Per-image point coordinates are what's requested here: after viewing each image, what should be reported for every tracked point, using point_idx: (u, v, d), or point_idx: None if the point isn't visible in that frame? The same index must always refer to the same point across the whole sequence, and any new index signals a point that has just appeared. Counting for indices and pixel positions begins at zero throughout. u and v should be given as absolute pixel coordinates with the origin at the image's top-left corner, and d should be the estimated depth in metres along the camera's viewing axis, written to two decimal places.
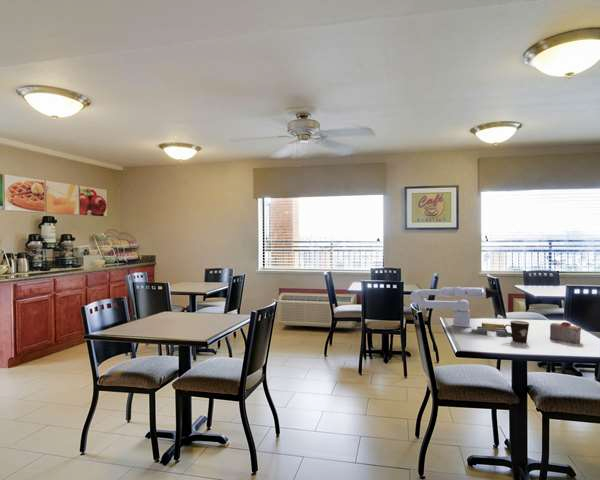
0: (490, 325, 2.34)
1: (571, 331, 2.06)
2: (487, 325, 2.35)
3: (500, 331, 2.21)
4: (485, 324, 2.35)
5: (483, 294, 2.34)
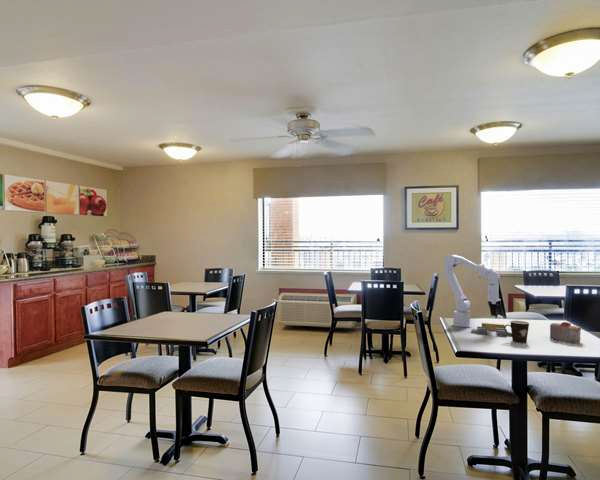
0: (490, 325, 2.34)
1: (571, 331, 2.06)
2: (487, 325, 2.35)
3: (500, 331, 2.21)
4: (485, 324, 2.35)
5: (493, 301, 2.28)
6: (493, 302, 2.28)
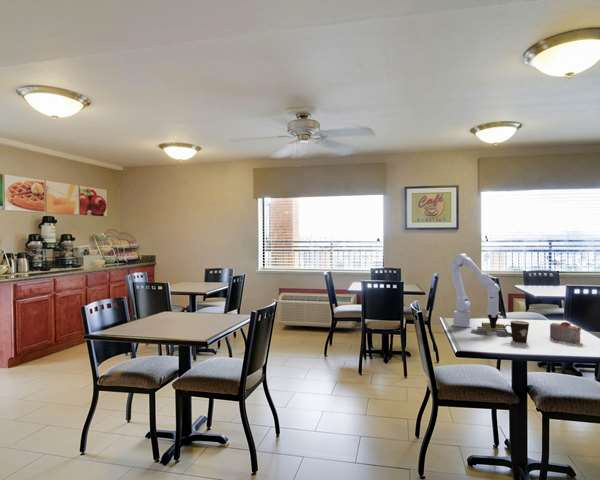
0: None
1: (571, 331, 2.06)
2: (487, 325, 2.35)
3: (500, 331, 2.21)
4: (485, 324, 2.35)
5: (493, 315, 2.28)
6: (493, 315, 2.28)
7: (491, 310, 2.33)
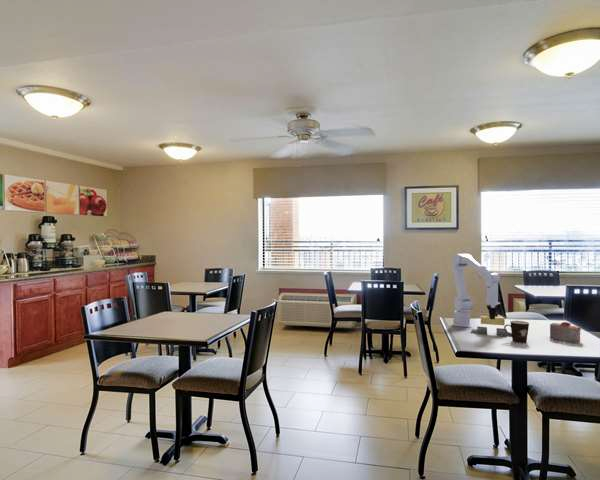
0: (489, 319, 2.25)
1: (571, 331, 2.06)
2: (486, 319, 2.25)
3: (500, 331, 2.21)
4: (484, 318, 2.26)
5: (492, 305, 2.19)
6: (492, 306, 2.19)
7: (490, 300, 2.23)
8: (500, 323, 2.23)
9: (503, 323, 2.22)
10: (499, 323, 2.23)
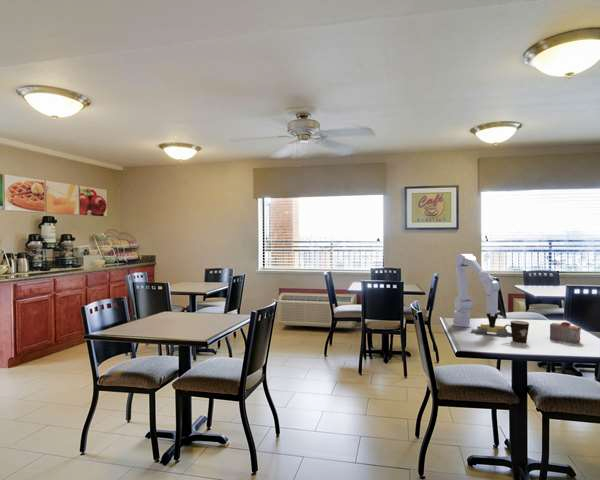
0: (489, 327, 2.24)
1: (571, 331, 2.06)
2: (486, 326, 2.25)
3: (500, 331, 2.21)
4: (484, 325, 2.25)
5: (492, 313, 2.18)
6: (492, 314, 2.18)
7: (490, 309, 2.23)
8: None
9: None
10: None
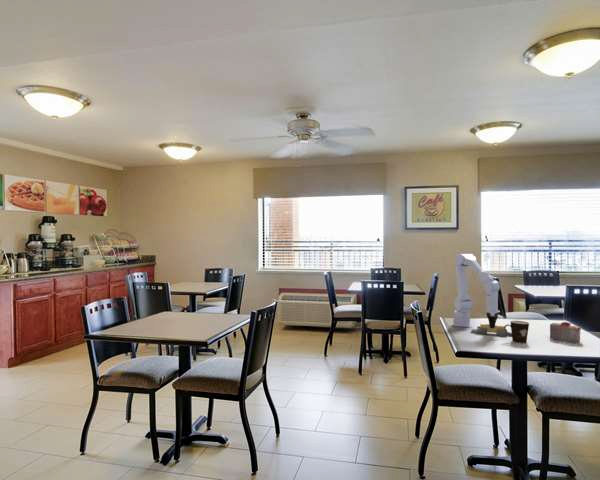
0: (489, 327, 2.24)
1: (571, 331, 2.06)
2: (486, 326, 2.25)
3: (500, 331, 2.21)
4: (484, 325, 2.25)
5: (492, 313, 2.18)
6: (492, 314, 2.18)
7: (490, 308, 2.23)
8: None
9: None
10: None
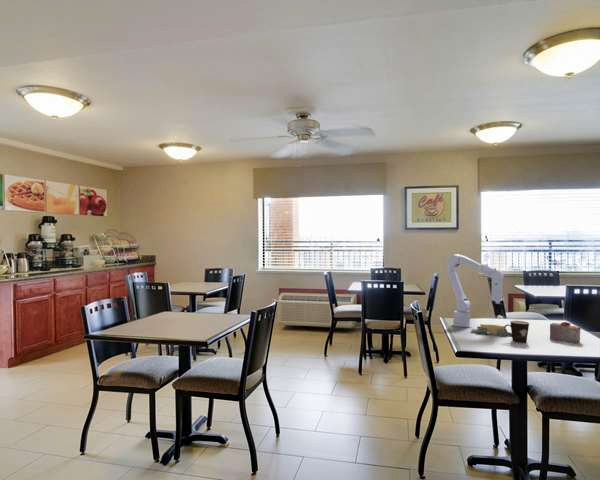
0: (489, 327, 2.24)
1: (571, 331, 2.06)
2: (486, 326, 2.25)
3: (500, 331, 2.21)
4: (484, 325, 2.25)
5: (497, 301, 2.27)
6: (497, 302, 2.27)
7: (495, 296, 2.32)
8: None
9: None
10: None
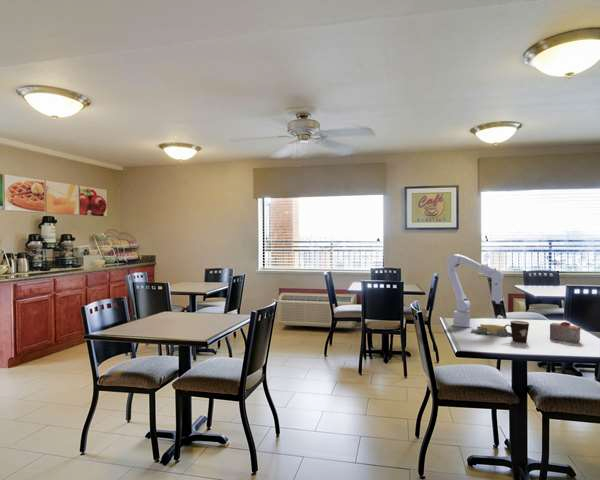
0: (489, 327, 2.24)
1: (571, 331, 2.06)
2: (486, 326, 2.25)
3: (500, 331, 2.21)
4: (484, 325, 2.25)
5: (497, 301, 2.27)
6: (497, 302, 2.27)
7: (495, 296, 2.32)
8: None
9: None
10: None
